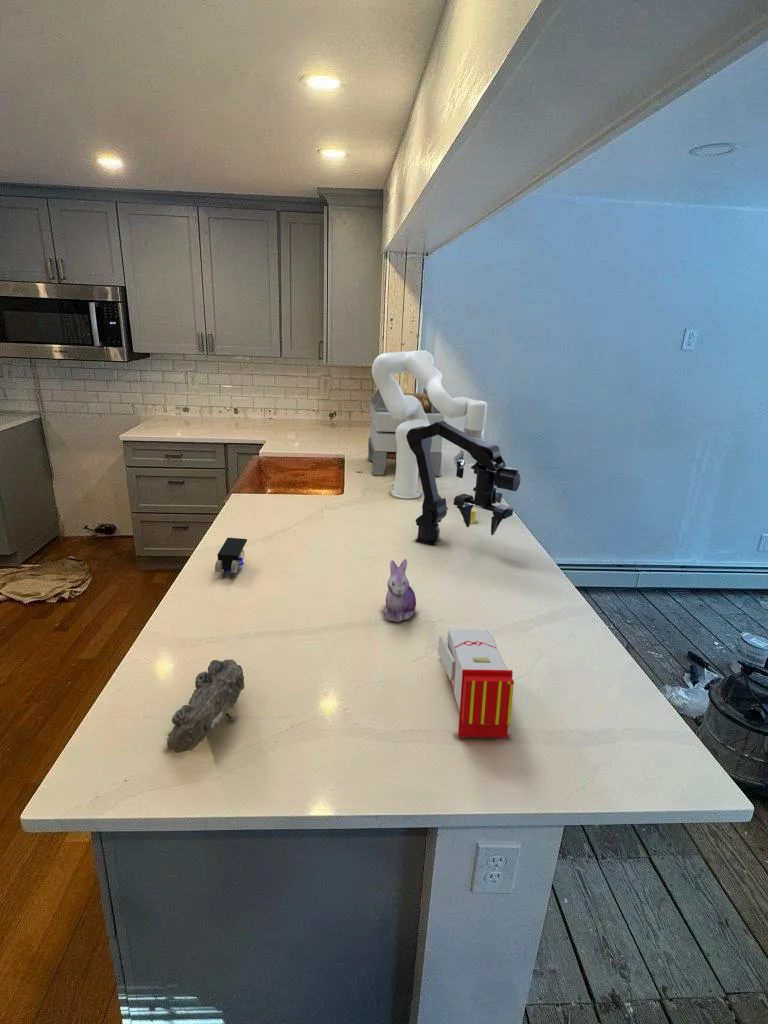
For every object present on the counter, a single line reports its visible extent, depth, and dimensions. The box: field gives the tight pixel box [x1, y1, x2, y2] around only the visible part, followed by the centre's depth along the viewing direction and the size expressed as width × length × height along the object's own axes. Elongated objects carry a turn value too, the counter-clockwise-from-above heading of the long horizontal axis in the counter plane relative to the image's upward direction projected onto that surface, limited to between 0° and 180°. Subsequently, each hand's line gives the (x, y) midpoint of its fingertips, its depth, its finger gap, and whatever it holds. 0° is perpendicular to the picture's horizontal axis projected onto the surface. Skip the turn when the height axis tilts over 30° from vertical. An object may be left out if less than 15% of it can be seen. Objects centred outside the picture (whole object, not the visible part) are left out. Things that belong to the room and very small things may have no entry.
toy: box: [437, 628, 515, 738], centre depth 117 cm, size 12×13×30 cm
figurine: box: [384, 558, 417, 623], centre depth 145 cm, size 9×10×15 cm
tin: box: [470, 507, 478, 524], centre depth 214 cm, size 4×4×5 cm
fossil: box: [166, 658, 245, 754], centre depth 106 cm, size 22×10×15 cm
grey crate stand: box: [367, 387, 445, 477], centre depth 277 cm, size 34×33×41 cm
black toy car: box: [214, 537, 248, 578], centre depth 166 cm, size 7×8×15 cm
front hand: (480, 530), depth 182 cm, fingers open, 9 cm apart
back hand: (468, 475), depth 223 cm, fingers open, 9 cm apart
